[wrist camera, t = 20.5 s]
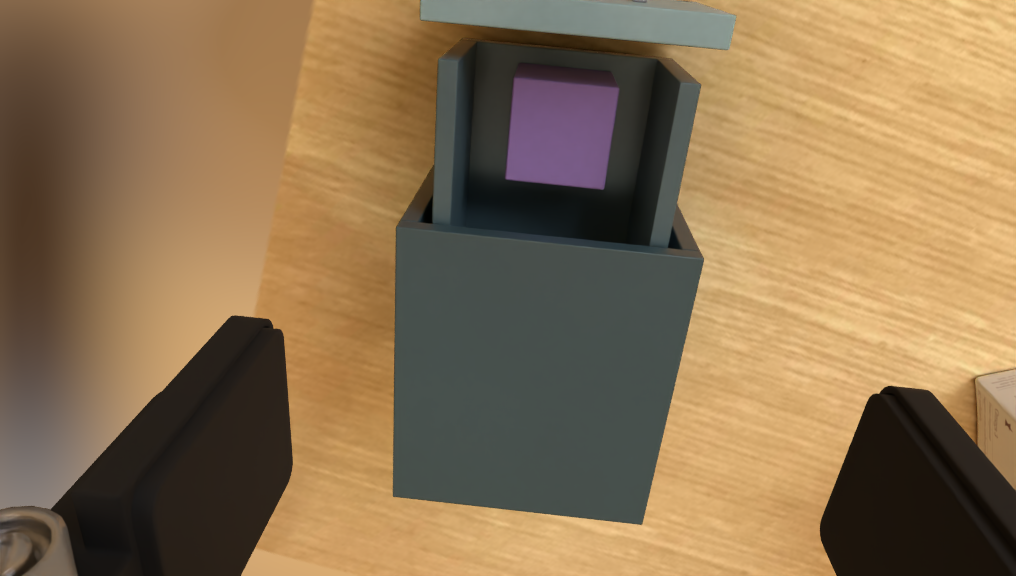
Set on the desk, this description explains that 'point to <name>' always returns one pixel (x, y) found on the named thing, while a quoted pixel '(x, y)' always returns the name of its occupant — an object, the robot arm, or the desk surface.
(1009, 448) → the white packaging box
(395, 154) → the desk surface
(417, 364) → the drawer cabinet
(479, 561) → the desk surface
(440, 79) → the pull-out drawer
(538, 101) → the purple rounded cube
